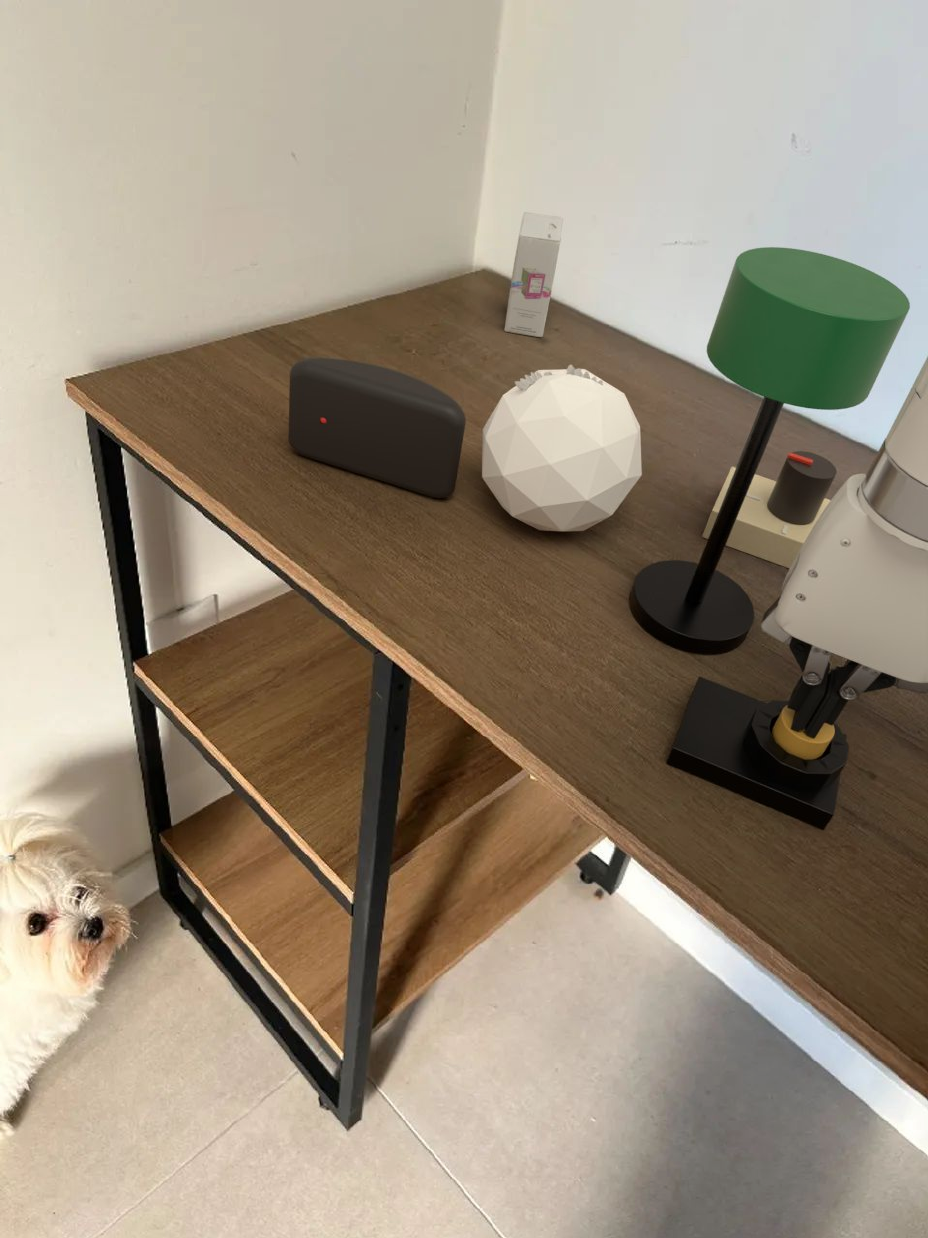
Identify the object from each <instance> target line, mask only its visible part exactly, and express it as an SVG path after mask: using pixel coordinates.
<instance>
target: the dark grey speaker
mask: <svg viewBox="0 0 928 1238" xmlns="http://www.w3.org/2000/svg"><path fill="white" fill-rule="evenodd" d="M288 391H289V393H288V395H289V397H288V438H287V439H288V442H289V446H290V447H291V448H292V449H293V451H295V452H296V453H297V454H299V455H300V456H303V457H305V458H308V459H312V460H315V461H318V462H320V463H323V464H327V465H330V466H334V467H337V468H339V469H343V470H346V471H349V472H352V473H355V474H358V475H361V476H365V477H368V478H370V479H374V480H377V481H380V482H384V483H387V484H390V485H394V486H396V487H399V488H402V489H406V490H407V491H412V492H415V493H418V494H421V495H423V496H427V497H431V498H435V499H446V498H448V497H450V496H452V495H453V493H454V492H455V490H456V484H457V478H458V473H459V466H460V460H461V453H462V448H463V441H464V436H465V429H466V423H467V420H466V415H465V413H464V410H463V408H462V406H461V405H460V404H459V403H458V402H457V400H455V399H454V398H453V397H451V396H450V395H449V394H447V393H446V392H444V391H442V390H441V389H439V388H438V387H436V386H434V385H432V384H430V383H428V382H426V381H424V380H422V379H419V378H417V377H415V376H412V375H409V374H407V373H405V372H401V371H399V370H395V369H391V368H388V367H384V366H381V365H376V364H374V363H373V364H372V363H367V362H364V361H363V362H362V361H357V360H350V359H344V358H333V357H308V358H304V359H300V360H299V361H297V362H295V363H294V364H293V365H292V366H291V368H290V371H289V390H288Z"/></svg>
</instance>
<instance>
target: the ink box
mask: <svg viewBox="0 0 928 1238" xmlns="http://www.w3.org/2000/svg"><path fill="white" fill-rule="evenodd" d="M563 221H564V218H563V217H561V216H557V215H548V214H540V213H533V212H525V211H524V212H523V215H522V219H521V224H520V229H519V234H518V239H517V246H516V249H515V256H514V262H513V268H512V272H511V273H512V274H511V281H510V287H509V294H508V302H507V307H506V308H507V309H506V316H505V323H504V329H503V330H504V332H506V333H512V334H517V335H523V336H529V337H536V338H543V337H544V332H545V327H546V322H547V317H548V310H549V306H550V301H551V295H552V289H553V286H554V279H555V274H556V269H557V262H558V258H559V252H560V245H561V242H562V241H561V240H562V230H563Z"/></svg>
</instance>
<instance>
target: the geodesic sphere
mask: <svg viewBox="0 0 928 1238" xmlns="http://www.w3.org/2000/svg"><path fill="white" fill-rule="evenodd" d="M514 384H515V386H514V387H512V388H510V389H509V390H508V391H506V392H505V393H504V394H502V396H501V398H500V399H499V401H498V402H497V404H496V405H495V408H494V409H493V411H492V413H491V414H490V416H489V417H488V420H487V421H486V423H485V425H484V426H483V428H482V429H481V430H482V432H481V434H482V435H481V436H482V437H481V438H482V439H481V440H482V441H481V442H482V443H481V449H482V450H481V451H482V452H481V464H482V465H481V478H482V479H483V481H484V483H485V484H486V486H487V487H488V488H489V490H490V492H491V493H492V495H493V496H494V497H495V499H496V500H497V502H498V503H499V505H500V506H501V508H503V510H505V511H506V512H507V513H508V514H509V515H510V516H511V517H512V518H514V519H516V520H519V521H521V522H522V523H524V524H526V525H528V526H530V527H532V528H534V529H535V530H538V531H547V532H549V531H550V532H584V531H586V530H587V529H590V528H592V527H593V526H596V525H597V524H599V523H601V522H603V521H604V520H606V519H608V518H610V517H612V516H613V515H614V513H615V512H616V511H617V509H618V508H619V506H620V505H621V504H622V502H623V501H624V500H625V498H626V497H627V496H628V494H629V493H630V492H631V490H632V489H633V488H634V487H635V485H636V484H637V482H638V481H639V479H640V478H641V477H642V476H643V473H642V472H643V468H642V443H641V426H640V423H639V421H638V419H637V417H636V415H635V413H634V411H633V408H632V406H631V405H630V402H629V401H628V398H627V396H626V394H625V393H624V392H622V391H621V390H619V389H618V388H616V387H614V386H613V385H611V384H610V383H608V382H606V381H604V380H603V379H602V378H600V377H598V376H597V375H595V374H594V373H592V372H590V371H589V370H587V369H586V368H580V367H577V368H575V367H574V365H573V364H569V365H568V366H567V368H566V369H565V368H564V369H563V368H562V369H538V370H536V371H534V372H533V371H531V372H530V375H529V374H524V377H522V378H521V377H520V378H519V380H514Z"/></svg>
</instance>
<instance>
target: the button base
mask: <svg viewBox="0 0 928 1238" xmlns="http://www.w3.org/2000/svg"><path fill="white" fill-rule="evenodd" d="M788 702H789V700H778V699H777V700H775V699H773V700H770V701H768V702H765V701H762V700H760V699H758V698H755V697H752V696H750V695H748V694H746V693H743V692H740V691H738V690H735V689H732V688H731V687H728V686H725V685H723V684H720V683H717V682H715V681H713V680H711V679H708V678H706V677H702V676H700V675H699V676H698V678H697V680H696V683H695V685H694V687H693V690H692V692H691V694H690V697H689V700H688V702H687V705H686V708H685V711H684V714H683V717H682V719H681V722H680V724H679V727H678V729H677V733H676V735H675V738H674V741H673V743H672V746H671V748H670V751H669V753H668V754H669V755H668V757H667V759H666V764H667V765H669V766H672V767H674V768H676V769H678V770H681V771H684V772H685V773H688V774H690V775H693V776H695V777H697V778H700V779H702V780H704V781H707V782H709V783H711V784H714V785H716V786H719V787H721V788H724V789H725V790H728V791H730V792H733V793H734V794H735V793H736V794H737V795H740V796H742V797H745V798H747V799H749V800H752V801H754V802H756V803H758V804H761V805H763V806H766V807H768V808H769V809H773V810H776V811H778V812H780V813H783V814H784V815H787V816H789V817H792V818H794V819H796V820H798V821H801V822H803V823H806V824H808V825H811V826H813V827H815V828H818V829H821V830H822V831H824V830H825V829H826V827H827V826H828V824H829V823H830V821H831V820H832V819H833V818H834V815H835V810H836V804H837V798H838V792H839V785H840V780H841V775H842V771H843V770H844V768H845V767H846V765H847V762H848V757H849V756H848V755H849V751H850V745H849V743H848V741H847V739H848V735H847V734H846V733H843V731H842V729H841V728H840V726H839V725H838V724H836V722H835V723H834V724H833V725H834V729H835V733H834V736H833V738H832V740H831V741H830V743H829V745H828V746H827V748H826V750H825V751H824V753H823V754H822V755H821V756H820V757H818V758H816V759H802V758H800V757H797V756H795V755H792V754H790V753H788V752H787V751H785V750H784V749H783V748H782V747H781V746H780V745H779V744H777V743H776V742H775V740H774V737H773V734H772V730H773V726H774V725H775V723H776V721H777V719H778V717H779V715H780V713H781V712H782V710H783V708H784V707H785V706H787V705H788Z"/></svg>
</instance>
